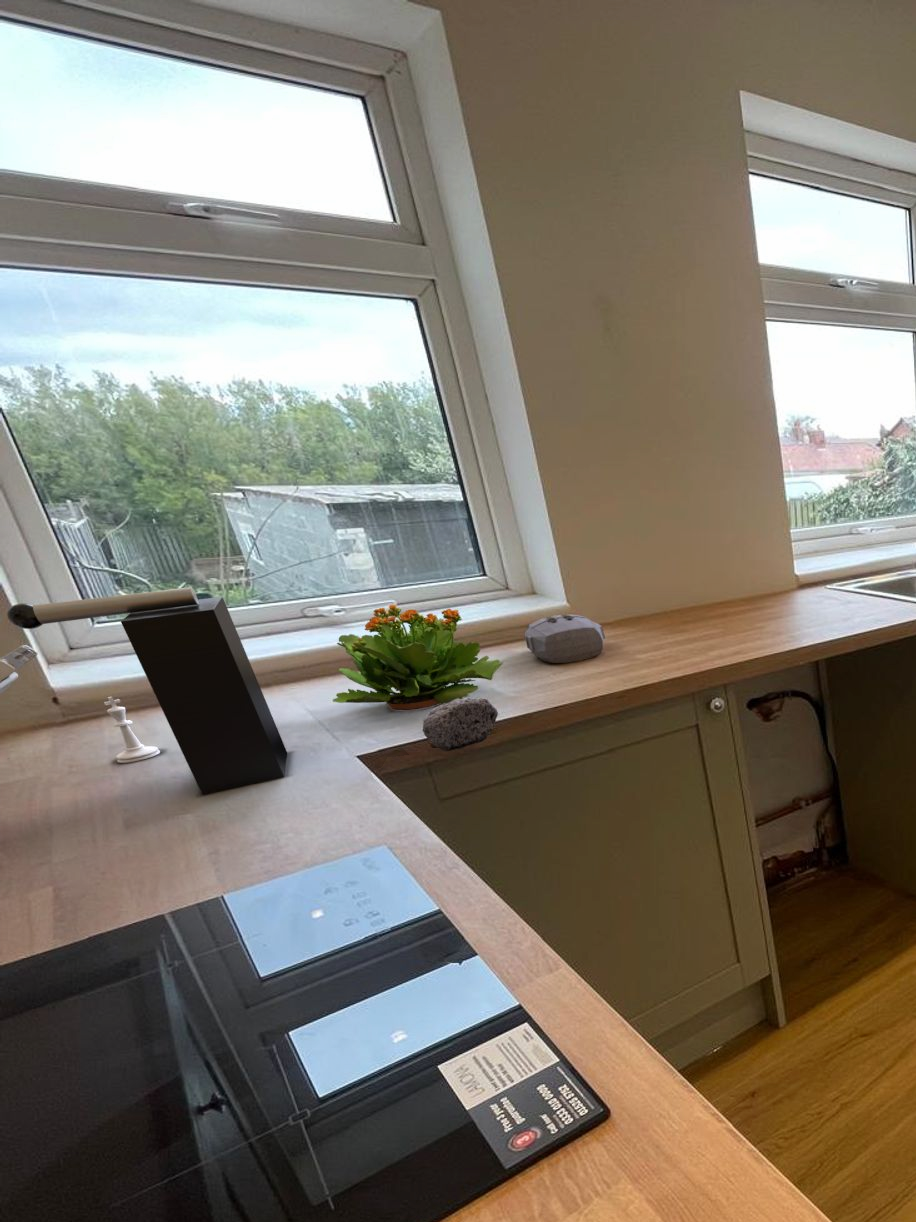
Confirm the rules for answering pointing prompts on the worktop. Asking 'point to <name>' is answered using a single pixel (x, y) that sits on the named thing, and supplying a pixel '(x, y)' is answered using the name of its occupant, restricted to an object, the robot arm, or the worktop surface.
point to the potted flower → (412, 661)
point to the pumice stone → (460, 723)
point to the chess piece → (129, 736)
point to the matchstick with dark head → (99, 607)
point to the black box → (208, 694)
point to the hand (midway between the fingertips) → (20, 656)
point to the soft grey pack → (564, 638)
